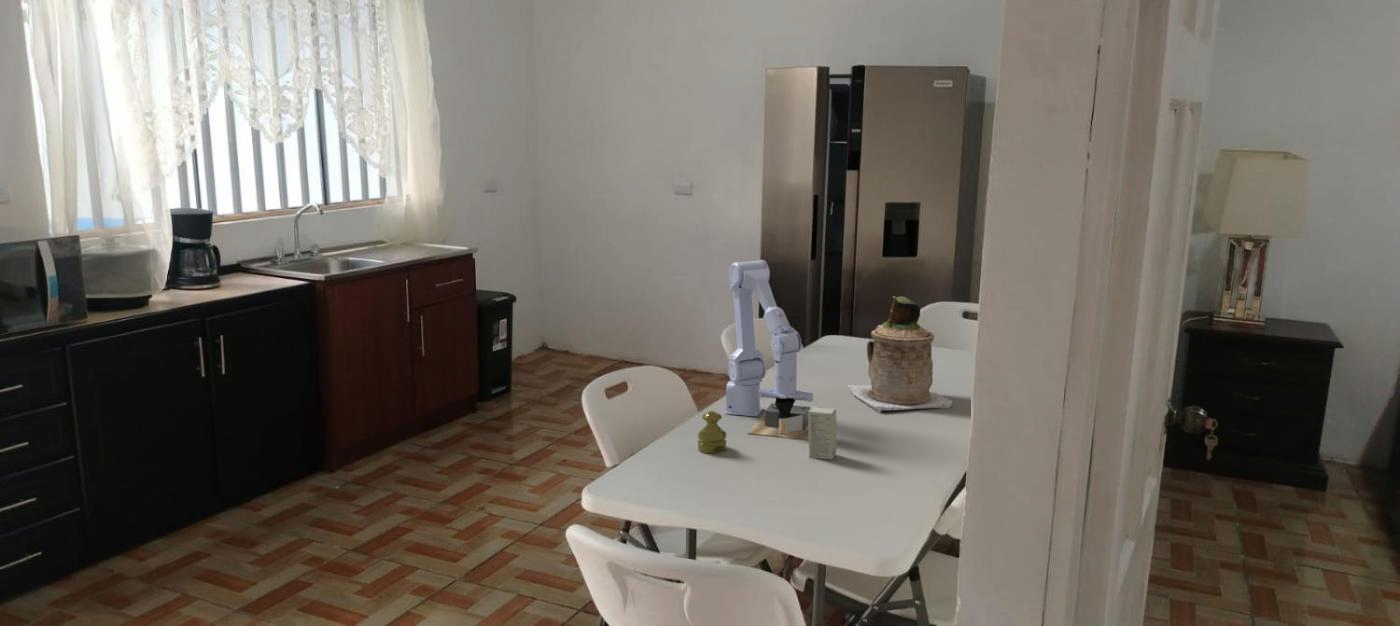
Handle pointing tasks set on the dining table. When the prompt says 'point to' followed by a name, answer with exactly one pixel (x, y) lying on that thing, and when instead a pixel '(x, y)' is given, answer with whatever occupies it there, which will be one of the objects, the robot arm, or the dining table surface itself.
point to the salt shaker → (712, 434)
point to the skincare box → (822, 432)
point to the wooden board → (777, 431)
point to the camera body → (774, 415)
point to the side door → (791, 424)
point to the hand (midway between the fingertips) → (785, 424)
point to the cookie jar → (900, 363)
